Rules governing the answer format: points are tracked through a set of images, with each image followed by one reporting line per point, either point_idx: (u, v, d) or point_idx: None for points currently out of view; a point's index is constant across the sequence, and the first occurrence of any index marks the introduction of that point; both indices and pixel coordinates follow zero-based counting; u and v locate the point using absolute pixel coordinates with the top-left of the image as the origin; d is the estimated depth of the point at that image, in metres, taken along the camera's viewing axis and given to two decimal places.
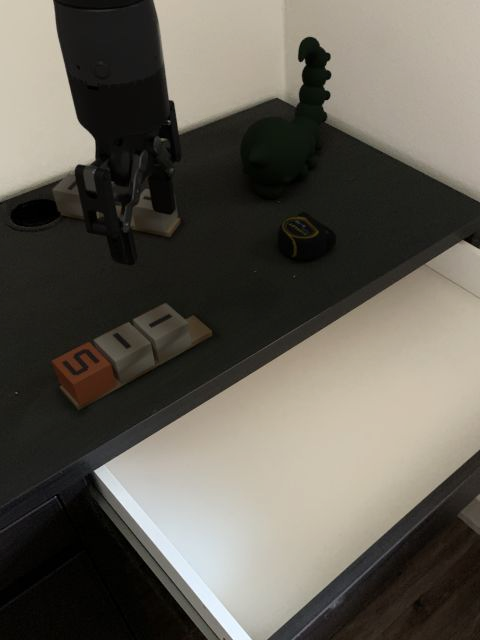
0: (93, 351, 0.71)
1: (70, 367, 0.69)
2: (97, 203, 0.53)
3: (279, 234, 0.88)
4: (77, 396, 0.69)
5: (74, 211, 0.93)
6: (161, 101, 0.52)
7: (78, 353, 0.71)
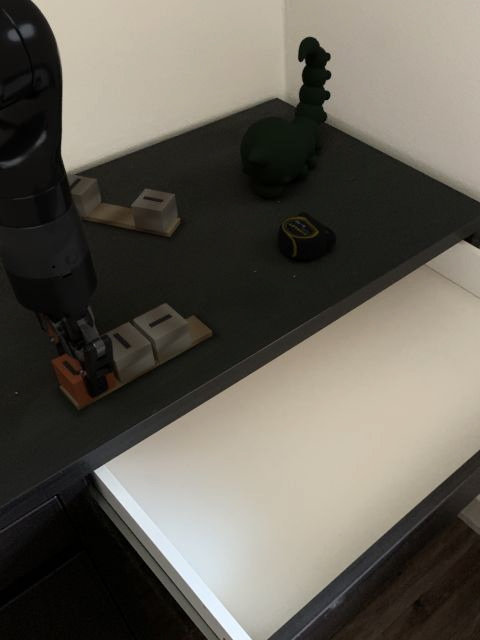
0: None
1: (70, 367, 0.69)
2: (105, 360, 0.64)
3: (279, 234, 0.88)
4: (77, 396, 0.69)
5: None
6: None
7: None
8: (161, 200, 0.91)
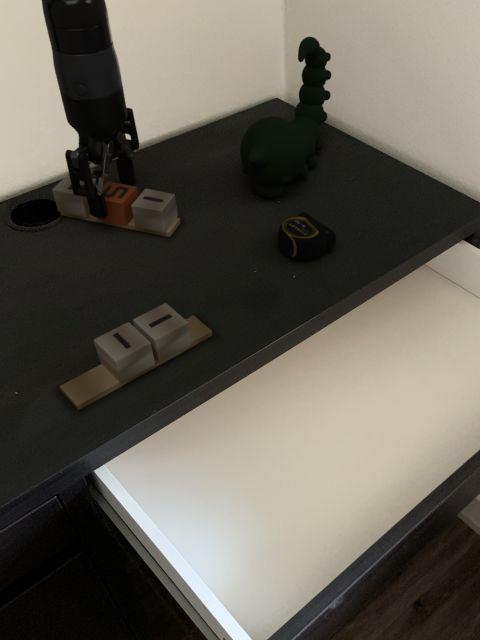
0: (128, 192, 0.92)
1: (106, 190, 0.92)
2: (79, 175, 0.82)
3: (279, 234, 0.88)
4: None
5: (74, 211, 0.93)
6: (120, 109, 0.82)
7: (121, 187, 0.92)
8: (161, 200, 0.91)
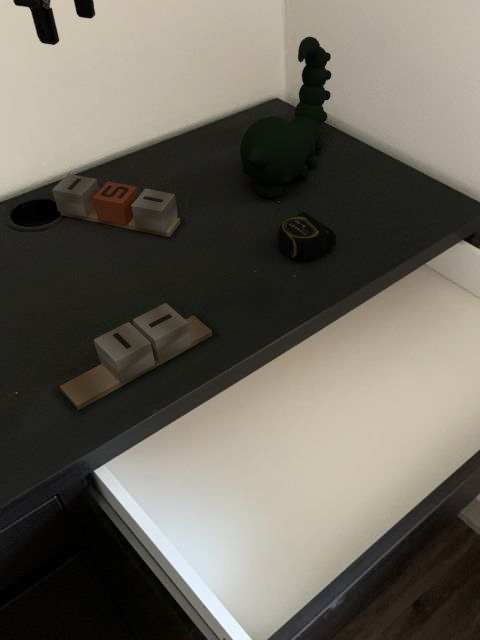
0: (128, 192, 0.92)
1: (106, 190, 0.92)
2: None
3: (279, 234, 0.88)
4: (96, 210, 0.92)
5: (74, 211, 0.93)
6: None
7: (121, 187, 0.92)
8: (161, 200, 0.91)
